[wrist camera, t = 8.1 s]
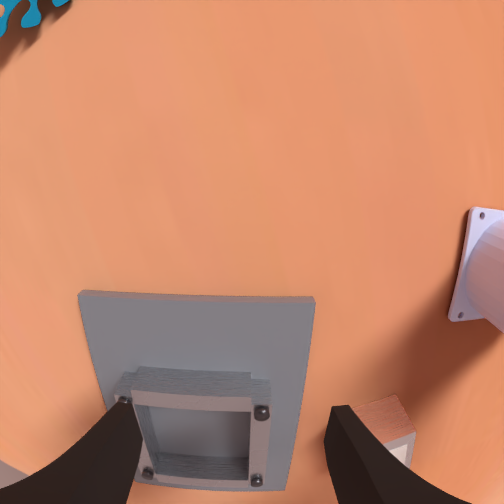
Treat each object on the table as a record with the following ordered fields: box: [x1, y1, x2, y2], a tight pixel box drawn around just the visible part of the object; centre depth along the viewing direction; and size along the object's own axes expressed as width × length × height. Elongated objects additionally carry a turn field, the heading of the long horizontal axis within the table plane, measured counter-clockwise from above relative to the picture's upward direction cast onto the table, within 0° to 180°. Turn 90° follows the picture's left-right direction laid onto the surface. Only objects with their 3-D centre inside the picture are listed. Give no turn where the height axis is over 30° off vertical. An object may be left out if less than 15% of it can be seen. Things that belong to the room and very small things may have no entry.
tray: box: [78, 290, 316, 491], centre depth 20 cm, size 14×20×4 cm
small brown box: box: [352, 394, 416, 469], centre depth 20 cm, size 5×6×4 cm
